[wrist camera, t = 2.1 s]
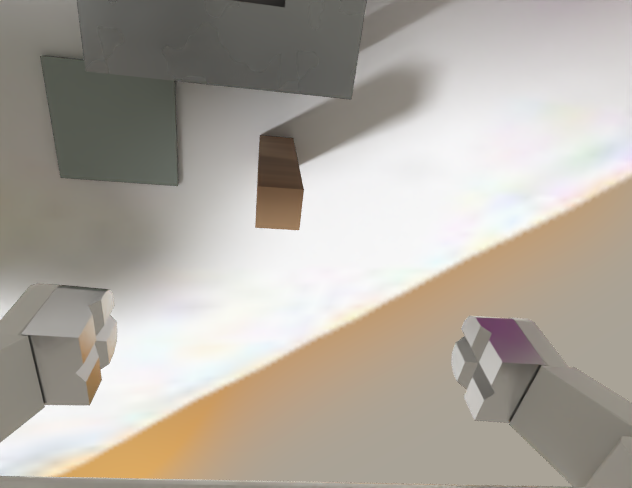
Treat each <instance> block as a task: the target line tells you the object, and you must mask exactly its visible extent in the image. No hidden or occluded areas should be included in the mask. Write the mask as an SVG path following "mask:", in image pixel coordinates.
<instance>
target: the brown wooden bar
mask: <svg viewBox="0 0 632 488" xmlns="http://www.w3.org/2000/svg"><path fill="white" fill-rule="evenodd" d="M303 192H304V189H303V184H302V179H301V174H300V169H299V164H298V159H297V154H296V149H295V145H294V140H293V138H286V137H275V136H264V135H260V143H259V160H258V180H257V203H256V226H255V228H271V229H288V230H299V227H300V218H301V209H302V201H303Z"/></svg>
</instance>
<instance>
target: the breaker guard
mask: <svg viewBox="0 0 632 488" xmlns="http://www.w3.org/2000/svg"><path fill="white" fill-rule="evenodd" d="M77 6H78V14H79V22H80V30H81V38H82V46H83V54H84V62H85V71H87V72H96V73H105V74H115V75H124V76H134V77H143V78H153V79H162V80H172V81H181V82H191V83H200V84H210V85H219V86H228V87H238V88H247V89H257V90H266V91H276V92H285V93H295V94H304V95H314V96H323V97H333V98H342V99H352V92H353V86H354V79H355V73H356V66H357V59H358V53H359V46H360V40H361V33H362V27H363V20H364V13H365V7H366V0H77Z"/></svg>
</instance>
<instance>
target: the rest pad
mask: <svg viewBox="0 0 632 488" xmlns="http://www.w3.org/2000/svg"><path fill="white" fill-rule="evenodd" d="M40 57H41V63H42V69H43V75H44V81H45V87H46V93H47V99H48V105H49V111H50V117H51V123H52V129H53V135H54V141H55V147H56V152H57V158H58V164H59V170H60V176H61V178H72V179H86V180H100V181H114V182H128V183H142V184H156V185H170V186H178V161H177V131H176V101H175V81H172V80H162V79H153V78H143V77H134V76H124V75H115V74H105V73H96V72H87V71H85V62H84V60H79V59H70V58H61V57H52V56H40Z"/></svg>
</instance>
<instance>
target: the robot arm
mask: <svg viewBox="0 0 632 488" xmlns="http://www.w3.org/2000/svg"><path fill="white" fill-rule="evenodd" d="M114 306H115V303H114V296H113V292H112V291H111V290H110V289H99V288H89V287H78V286H67V285H54V284H41V283H36V284H33V285H31V286H30V287H29V288H28V289H27V290H26V291H25V292H24V294H23V295H22V296H21V297H20V298H19V299H18V301H17V302H16V303H15V304H14V305H13V306H12V307H11V309H10V310H9V311H8V312H7V313H6V314H5V316H4V317H3V318H2V319H1V320H0V442H1V441H3V440H4V439H5V438H7V437H8V436H9V435H10V434H12V433H13V432H14V431H15V430H17V429H18V428H19V427H20V426H22V425H23V424H24V423H25V422H27V421H28V420H29V419H30V418H32V417H33V416H34V415H35V414H37V413H38V412H39V411H40V410H42V409H43V408H44V407H45V406H44V405H90V404H91V402H92V399H93V397H94V395H95V393H96V391H97V389H98V387H99V385H100V382H101V380H102V378H101V369H102V368H104V367H105V366H107V365H108V364H109V363H110V361H111V358H112V356H113V354H114V350H115V346H116V342H117V321H116V320H115V319H114V318H113V317H112V316H111V315H110V313H111V311H112V310H113V308H114ZM461 329H462V331H463V333H464V337H463V338H461V339H460V340H459V341H457V342H456V343H455V346H454V349H453V352H452V369H453V374H454V376H455V378H456V381H457V382H458V383H459V384H460V385H462V386H463V387H464V388H465V389H467V390H466V392H465V395H464V398H465V401H466V403H467V405H468V407H469V409H470V411H471V414H472V416H473V418H474V420H475V421H489V422H504V423H510V424H509V425H510V426H511V427H512V428H513V429H514V430H516V432H517V433H519V435H521V437H523V439H525V440H526V441H527V442H528V443H529V444H530V445H531V446H532V447H533V448H534V449H535V450H536V451H537V452H538V453H539V454H540V455H541V456H542V457H543V458H544V459H545V460H546V461H547V462H549V464H550V465H551V466H552V467H553V468H554V469H555V470H556V471H557V472H558V473H559V474H560V475H562V477H564V478H565V479H566V480H567V481H568V482H569V483H570V484H571V485H572V486H573V487H553V486H501V485H449V484H445V485H444V484H396V483H344V482H343V483H342V482H341V483H340V482H291V481H289V482H288V481H238V480H237V481H236V480H185V479H183V480H182V479H132V478H130V479H129V478H79V477H78V478H76V477H24V476H0V488H632V403H631V402H630V401H628V400H627V399H625V398H623V397H622V396H620V395H619V394H617V393H615V392H614V391H612V390H611V389H609V388H607V387H606V386H604V385H603V384H601V383H599V382H598V381H596V380H594V379H593V378H591V377H590V376H588V375H587V374H585V373H583V372H581V371H580V370H579V369H577V368H575V367H569V366H568V365H567V364H566V362H565V361H564V360H563V359H562V357H561V356H560V355H559V353H558V352H557V351H556V349H555V348H554V347H553V345H552V344H551V343H550V342H549V340H548V339H547V338H546V337H545V335H544V334H543V332H542V331H541V330H540V329H539V327H538V326H537V325H536V323H535V322H534V321H532V320H530V319H525V318H495V317H480V316H469V317H467V319H466V320H465V321H464V323H463V326H462V328H461Z"/></svg>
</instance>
